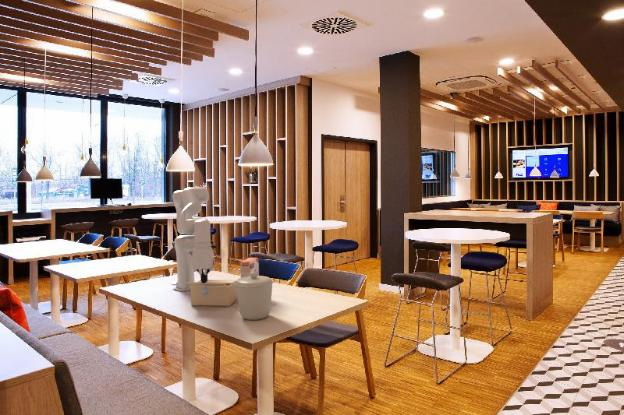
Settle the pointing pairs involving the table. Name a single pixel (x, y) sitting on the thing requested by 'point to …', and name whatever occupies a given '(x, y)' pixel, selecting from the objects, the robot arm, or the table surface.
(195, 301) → the carton
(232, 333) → the table surface
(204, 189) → the robot arm
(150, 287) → the table surface
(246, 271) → the cracker box
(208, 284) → the near flap
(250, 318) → the canister
